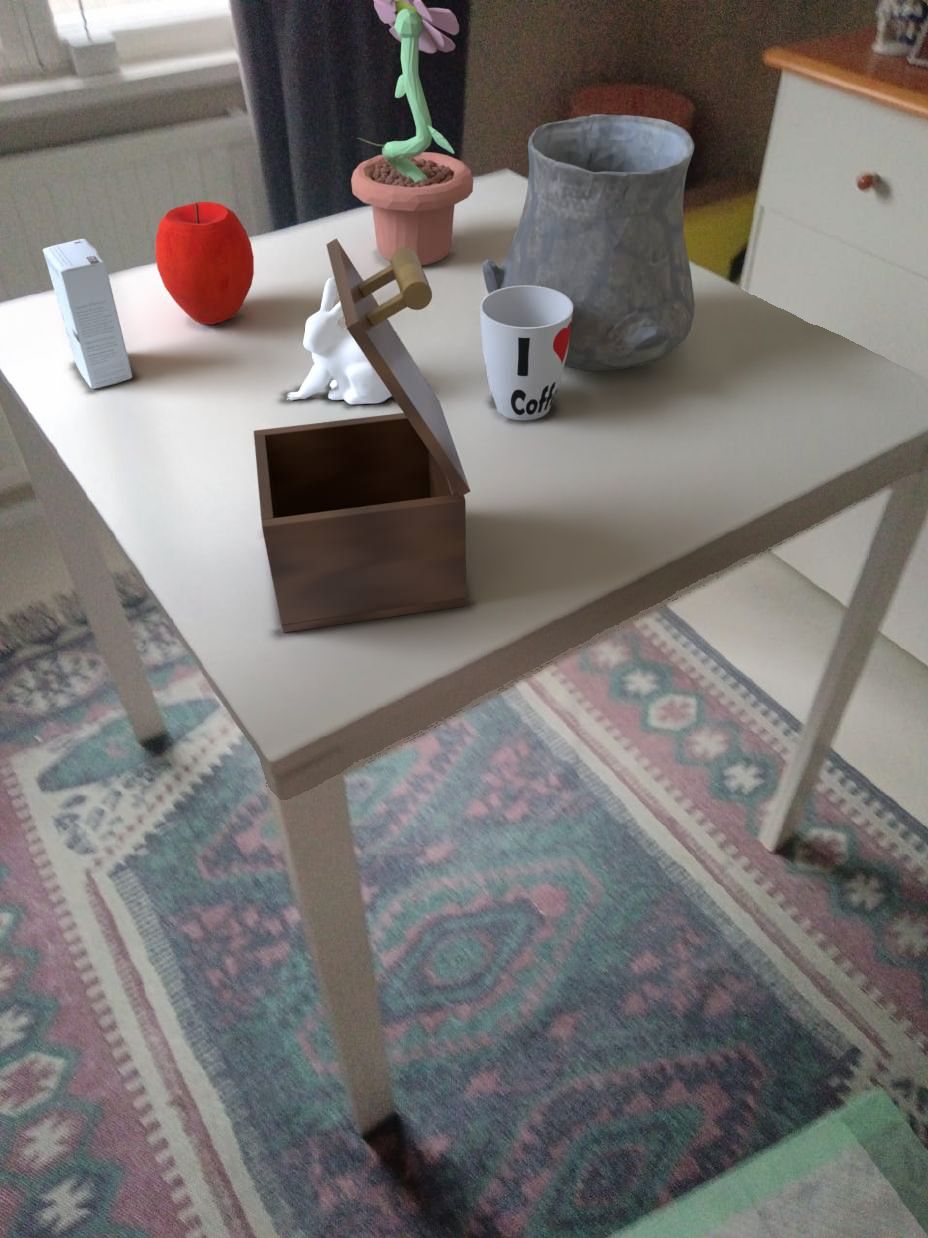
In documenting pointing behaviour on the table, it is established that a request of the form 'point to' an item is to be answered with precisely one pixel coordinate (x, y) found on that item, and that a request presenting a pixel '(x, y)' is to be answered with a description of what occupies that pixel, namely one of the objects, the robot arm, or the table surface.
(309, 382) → the rabbit figurine
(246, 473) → the table surface
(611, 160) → the vessel
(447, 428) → the lid
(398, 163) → the decorative flower
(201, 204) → the apple
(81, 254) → the cosmetic box
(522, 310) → the cup
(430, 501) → the chest
